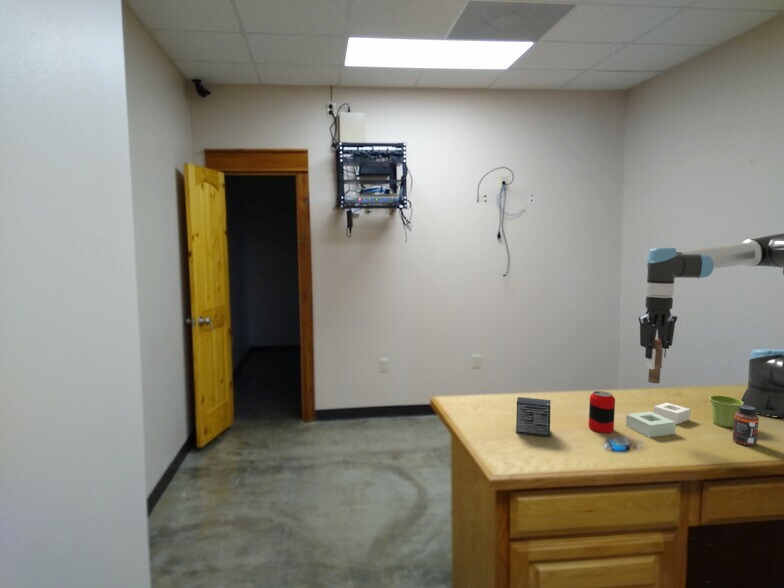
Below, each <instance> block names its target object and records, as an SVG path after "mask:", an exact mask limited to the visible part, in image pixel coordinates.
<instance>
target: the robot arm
mask: <svg viewBox="0 0 784 588" xmlns="http://www.w3.org/2000/svg"><path fill="white" fill-rule="evenodd" d="M735 266H736V267H738V266H746V267H747V268H748V267H750V268H752V267H771V268H782V275H783V276H784V232H783V233H777V234H776V233H775V234H772V235H771V234H770V235H766V236H762V237H756V238H750V239H745V240H743V241H742V242H741V243H734V244H728V245H718V246H711V247H710V246H709V247H704V248H697V249H689V250H680V251H677V248H675V247H652V248H651V249H650V250H649V253H648V259H647V261H646V268H647V276H646V277H647V278H646V279H647V280H646V295H647V296H646V297H645V305H644V306H645V308H646V312H645V314H644V315H643V316H642V315H641V316H640V315H639V316H638V317H637V318H638V321H639V336H640V337H639V340H640V341H639V342H640V343H639V345H640V346H641V347H642V348H645V355H644V357H645V360H646V361H645V368H646V369H648V370H649V369H654V366H655V352H656V349H653V348H654V343H655V339H660V340H661V343H662V353H661V368H660V370H661V369H662V370H663V369H664V367H665V358H666V354H667V350H669V349H670V347H672V346H673V341H674V334H675V326H676V322H677V320H678V316H676V315H672V313H671V310H672V309H673V301H674V298H673V297H672V296H674V290H675V289H674V287H675V278H676V279H677V278H683V279H684V278H685V279H686V278H687V279H689V278H691V279H694V278H695V279H700V278H701V279H703V278H707V277H709V276H711V275H712V273H713V271H714V269H721V268H723V269H724V268H729V267H730V268H731V267H735ZM656 337H657V338H656ZM748 365H749V366H748V377H747V378H748V379H747V388H746V390H745V392H744V394H743V396H742V397H741V399H740V400H741V401H743V405H746V406H751V407H754V408H755V413H759V414H763V415H769V416H777V417H784V349H782V348H781V349H780V348H755V349H752V350H751V352H750V356H749V361H748Z"/></svg>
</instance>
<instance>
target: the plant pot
mask: <svg viewBox="0 0 784 588" xmlns="http://www.w3.org/2000/svg"><path fill="white" fill-rule="evenodd" d="M709 400H710V403H711V409H712V410H711V411H712V423H713V424H715V425H717V424H718V425H717V426H719V425H721V426H720V427H723V426H726V427H725V428H733V427H734V415H735V413H736V412H738V411H739V406H740V405H743V401H741V399H739V398H736V397H731V396H727V395H719V394H717V395H716V394H715V395H710V396H709Z"/></svg>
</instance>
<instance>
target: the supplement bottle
mask: <svg viewBox="0 0 784 588" xmlns="http://www.w3.org/2000/svg"><path fill="white" fill-rule="evenodd" d="M759 420H760V418H759V415H758V414H755V408H754V407H751V406H746V405H740V406H739V411H738V412H736V413H735V415H734V427H732V428H733V429H732V430H733V431H732V441H733V442H735V443H736V442H737V444H738V443H739V445H741V444H743V445H742V446H746V445H748V447H754V446H756V445H757V443H758V433H759V432H758V431H759Z"/></svg>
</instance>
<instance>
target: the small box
mask: <svg viewBox="0 0 784 588" xmlns="http://www.w3.org/2000/svg"><path fill="white" fill-rule="evenodd" d="M551 401H552V400H551V399H542V398H531V397H522V396H521V397H520V396H518V397H517V399H516V419H515V420H516V426H515V433H516V434H521V435H522V434H523V435H530V436H538V437H546V438H550V436H551V433H550V432H551V404H552V403H551Z"/></svg>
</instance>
